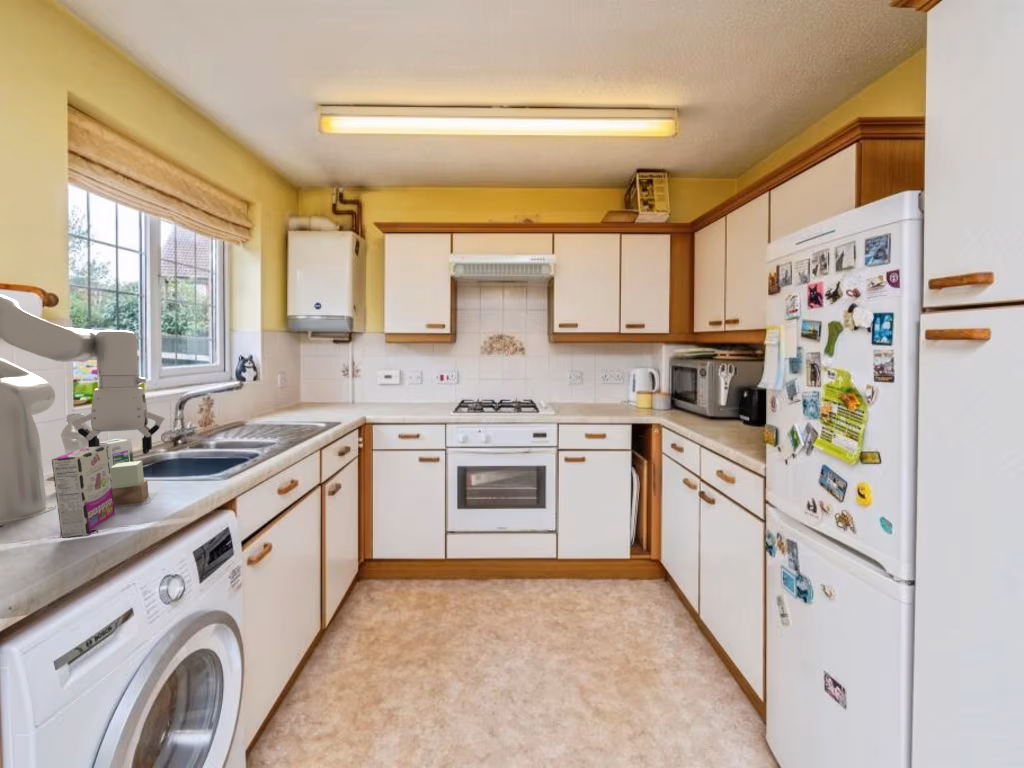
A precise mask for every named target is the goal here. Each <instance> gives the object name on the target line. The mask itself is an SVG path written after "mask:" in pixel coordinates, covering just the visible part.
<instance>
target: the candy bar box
mask: <svg viewBox="0 0 1024 768" xmlns="http://www.w3.org/2000/svg"><path fill="white" fill-rule="evenodd" d="M51 466H52V473H53V482H54V488H55V497H56V507H57V512H58V513H57V514H58V520H59V521H58V522H59V528H60V529H59V530H60V535H61V539H70V538H78V537H85V536H90V535H92V534H93V533H95V532H96V531H97V529H94V528H96V527H97V526H99V525H100V524H101V523H103V522H104V521H106V520H108V519H109V518H110V517H112V516H113V515H115V508H114V502H113V495H112V486H111V476H110V468H109V459H108V451H107V446H98V447H97V446H96V447H85V448H81V449H78V450H75V451H73V452H70V453H68V454H66V453H65V454H63V455H60V456H57V457H55V458H52V459H51Z"/></svg>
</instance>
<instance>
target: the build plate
mask: <svg viewBox="0 0 1024 768" xmlns="http://www.w3.org/2000/svg"><path fill="white" fill-rule="evenodd" d="M148 494H149V495H148V497H147V498H146V499H145V500H144V501H143V502H140V503H133V504H125V505H117V506H114V509H120V508H127V507H133V506H143V505H148V504H150V503H151V501H152V500H153V499H154V498H155V496H156V495H157V494H158V492H148Z"/></svg>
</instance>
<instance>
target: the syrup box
mask: <svg viewBox="0 0 1024 768" xmlns="http://www.w3.org/2000/svg"><path fill="white" fill-rule="evenodd" d="M99 445H100V446H107V451H108V459H109V468H111V467H112V466H114V465H115V464H116V463H123V462H133V461H134V455H133V454H134V453H133V452H134V451H133V443H132V439H129V438H114V439H110V440H109V439H108V440H106V441H105V440H104V441H101V442H100V441H99ZM110 476H111V469H110ZM111 486H112V479H111Z"/></svg>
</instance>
